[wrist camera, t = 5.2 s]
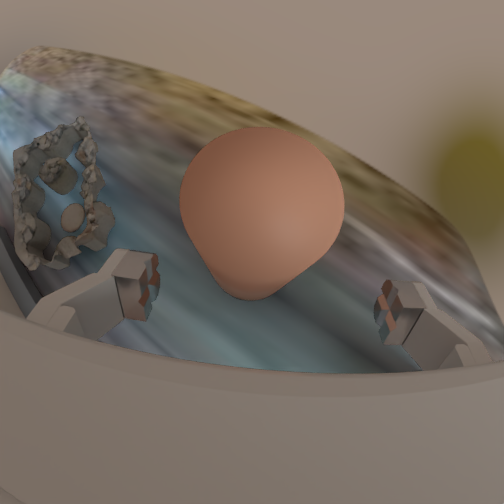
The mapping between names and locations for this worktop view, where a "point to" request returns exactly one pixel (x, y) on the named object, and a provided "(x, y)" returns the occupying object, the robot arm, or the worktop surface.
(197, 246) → the pillar
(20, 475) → the robot arm
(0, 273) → the base board
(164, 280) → the worktop surface
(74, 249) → the grey rock frame
